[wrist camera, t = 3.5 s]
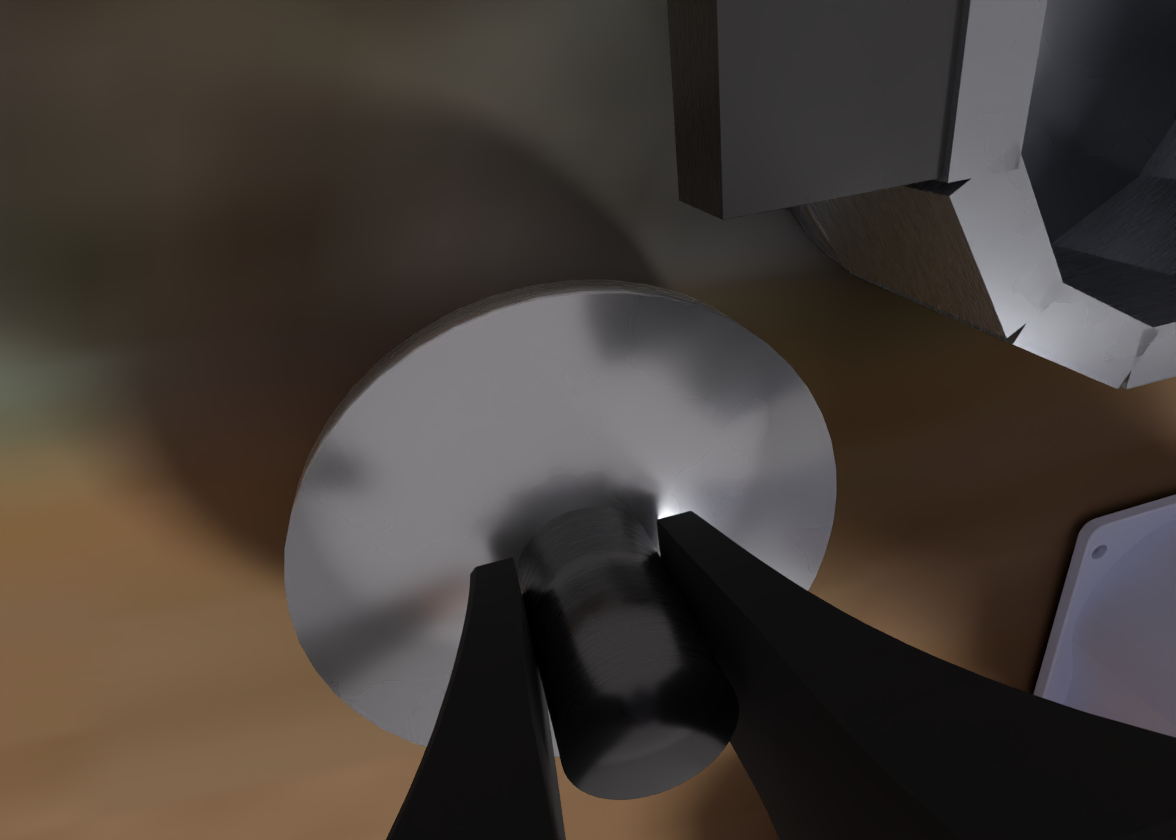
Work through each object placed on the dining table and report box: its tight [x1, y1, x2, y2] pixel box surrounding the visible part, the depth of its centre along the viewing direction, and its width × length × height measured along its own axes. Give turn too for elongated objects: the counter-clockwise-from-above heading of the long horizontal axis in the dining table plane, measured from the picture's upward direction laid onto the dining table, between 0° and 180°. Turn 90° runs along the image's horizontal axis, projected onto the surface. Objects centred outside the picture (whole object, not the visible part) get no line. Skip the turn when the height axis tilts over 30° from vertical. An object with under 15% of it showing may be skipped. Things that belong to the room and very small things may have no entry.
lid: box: [284, 279, 837, 800], centre depth 11 cm, size 10×10×5 cm
